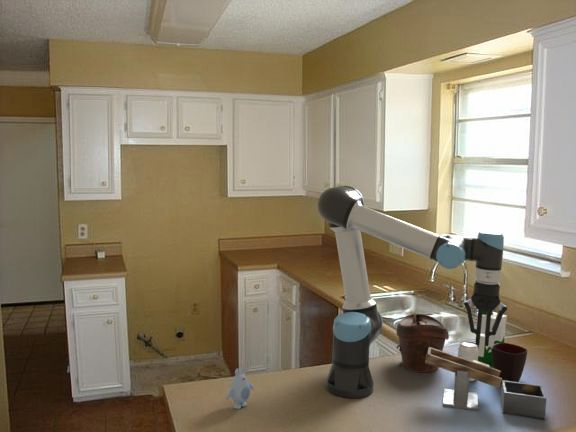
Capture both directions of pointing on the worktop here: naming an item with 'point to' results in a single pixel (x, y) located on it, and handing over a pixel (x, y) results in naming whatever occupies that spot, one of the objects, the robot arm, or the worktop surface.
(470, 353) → the can
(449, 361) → the lever
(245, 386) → the toy figure
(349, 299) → the robot arm
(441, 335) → the case
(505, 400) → the tin
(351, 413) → the worktop surface
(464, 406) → the stand
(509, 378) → the cup
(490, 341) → the milk carton
